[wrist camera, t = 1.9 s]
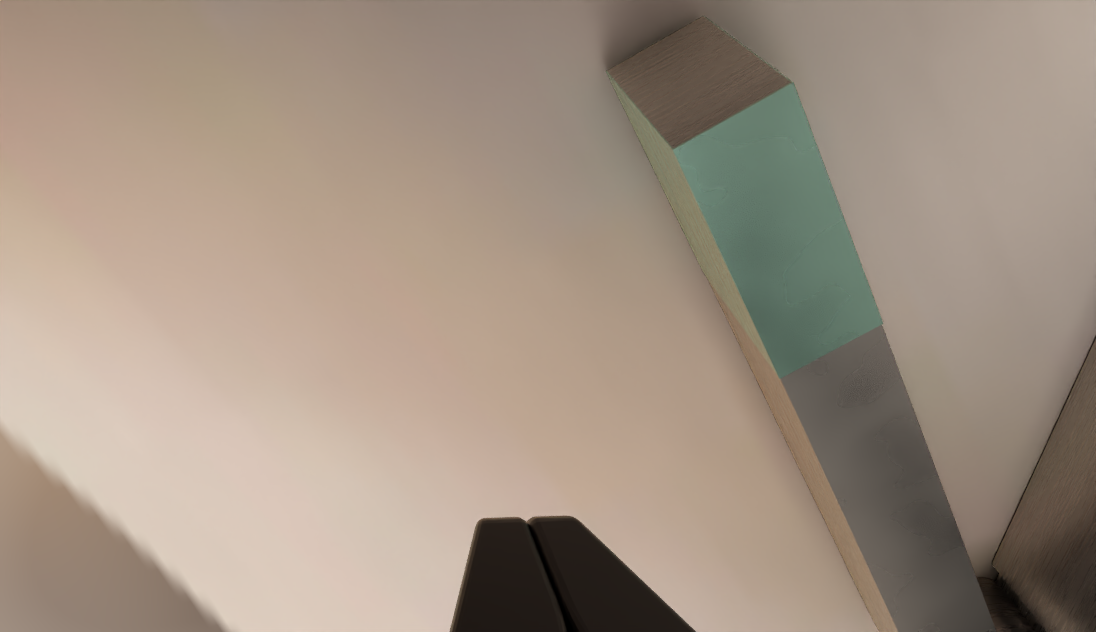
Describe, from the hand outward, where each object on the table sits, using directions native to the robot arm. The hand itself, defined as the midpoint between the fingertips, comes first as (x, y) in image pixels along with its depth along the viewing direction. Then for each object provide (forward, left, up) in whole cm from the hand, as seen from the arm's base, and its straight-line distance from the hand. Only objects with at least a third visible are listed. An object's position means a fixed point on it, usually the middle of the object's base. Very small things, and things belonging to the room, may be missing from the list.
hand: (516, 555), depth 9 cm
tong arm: (-10, +6, -12) cm, 16 cm away
